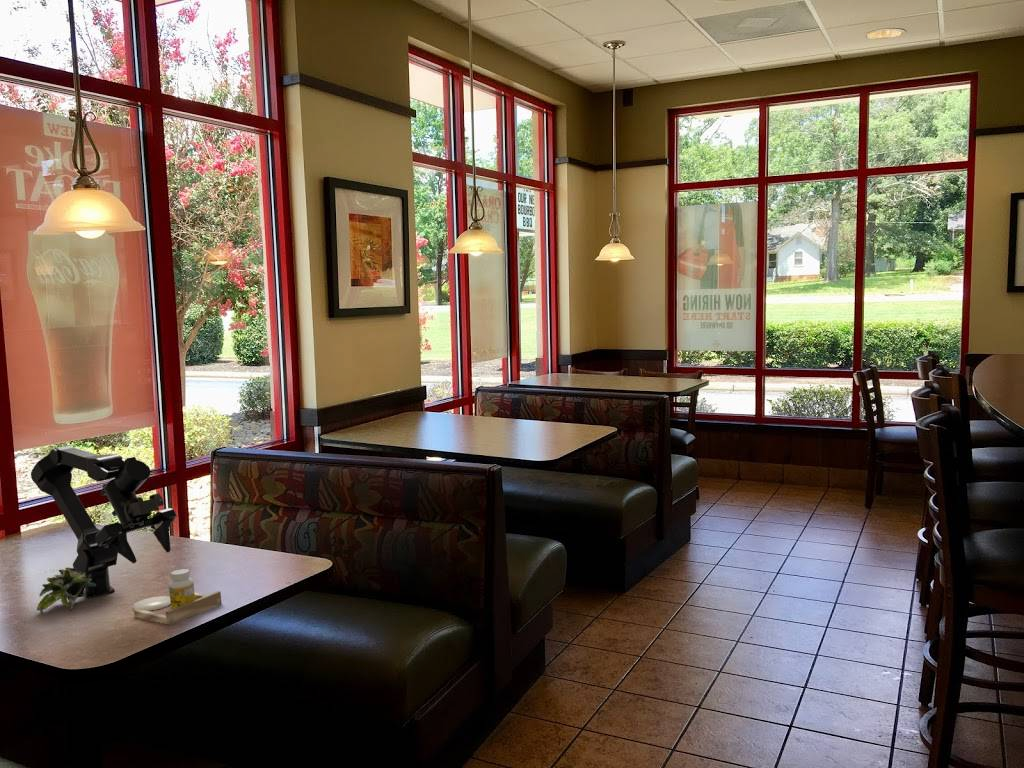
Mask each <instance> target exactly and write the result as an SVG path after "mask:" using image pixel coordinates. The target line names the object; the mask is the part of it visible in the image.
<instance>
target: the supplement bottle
mask: <svg viewBox="0 0 1024 768" xmlns="http://www.w3.org/2000/svg"><path fill="white" fill-rule="evenodd" d="M170 578H171V581H170V582H169V584H168V590H169V597H170V602H171V605H170V610H171V609H174V608H176V607H179V606H181V605H184V604H186V603H189V602H191V601H194V600H195V593H194V592H195V586H194V580H193V578H191V577H190V570H189V569H187V568H182V569H181V568H180V569H176V570H174V571H171V572H170Z"/></svg>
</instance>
